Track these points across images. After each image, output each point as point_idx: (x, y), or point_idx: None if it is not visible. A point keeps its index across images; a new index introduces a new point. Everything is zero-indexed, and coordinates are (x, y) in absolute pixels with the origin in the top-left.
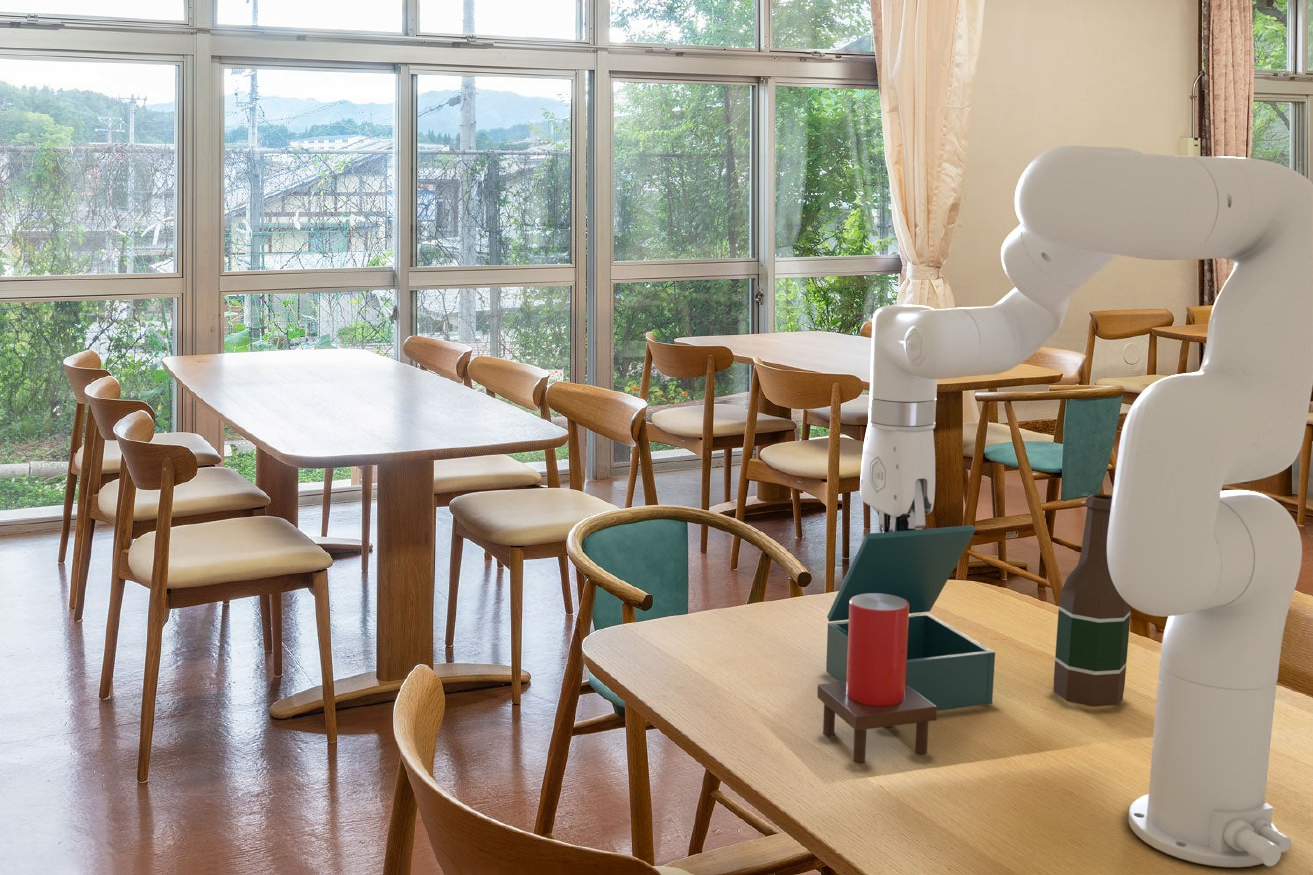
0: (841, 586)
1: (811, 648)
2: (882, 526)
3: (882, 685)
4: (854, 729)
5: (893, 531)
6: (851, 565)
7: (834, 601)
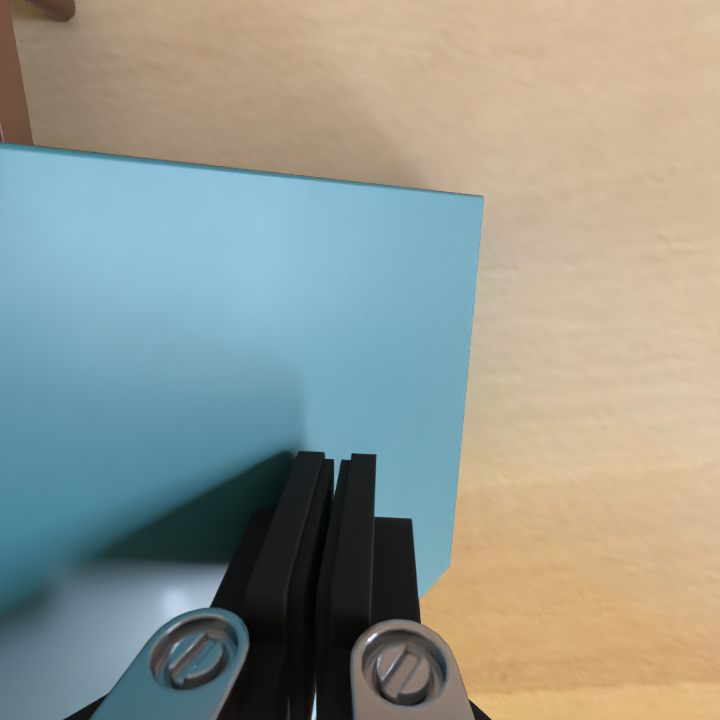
0: (357, 182)
1: (651, 267)
2: (398, 688)
3: None
4: None
5: (143, 674)
6: (186, 163)
7: (429, 190)
